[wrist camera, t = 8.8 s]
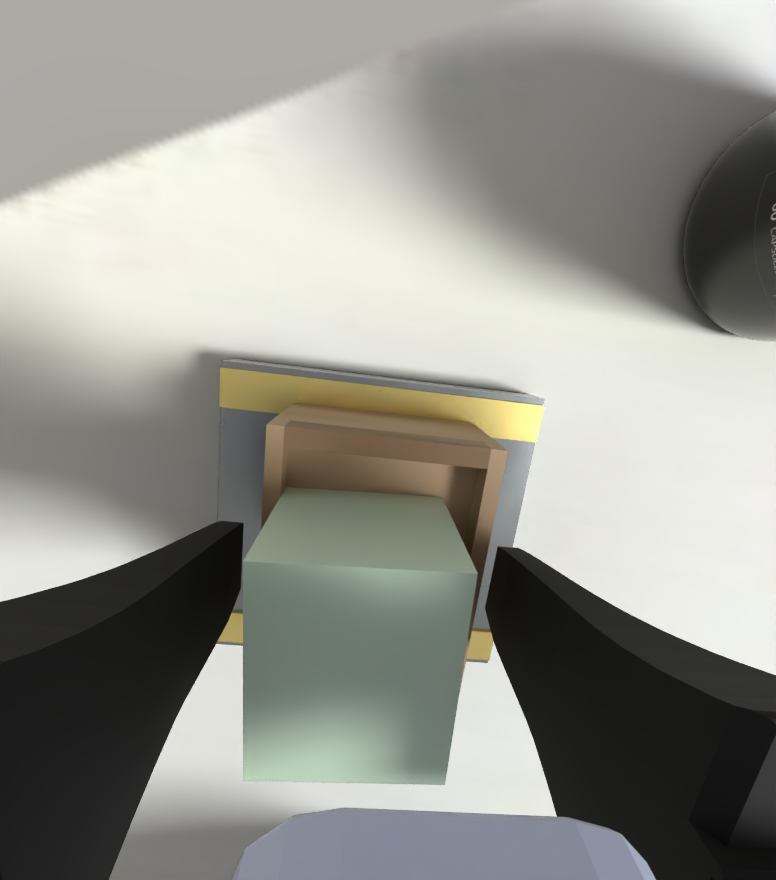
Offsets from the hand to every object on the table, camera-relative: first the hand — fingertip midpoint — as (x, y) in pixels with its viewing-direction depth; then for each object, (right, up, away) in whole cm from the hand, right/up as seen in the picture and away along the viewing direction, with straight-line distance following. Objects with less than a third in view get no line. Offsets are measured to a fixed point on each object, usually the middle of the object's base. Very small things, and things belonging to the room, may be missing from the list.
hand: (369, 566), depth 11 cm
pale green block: (0, 0, 0) cm, 1 cm away
